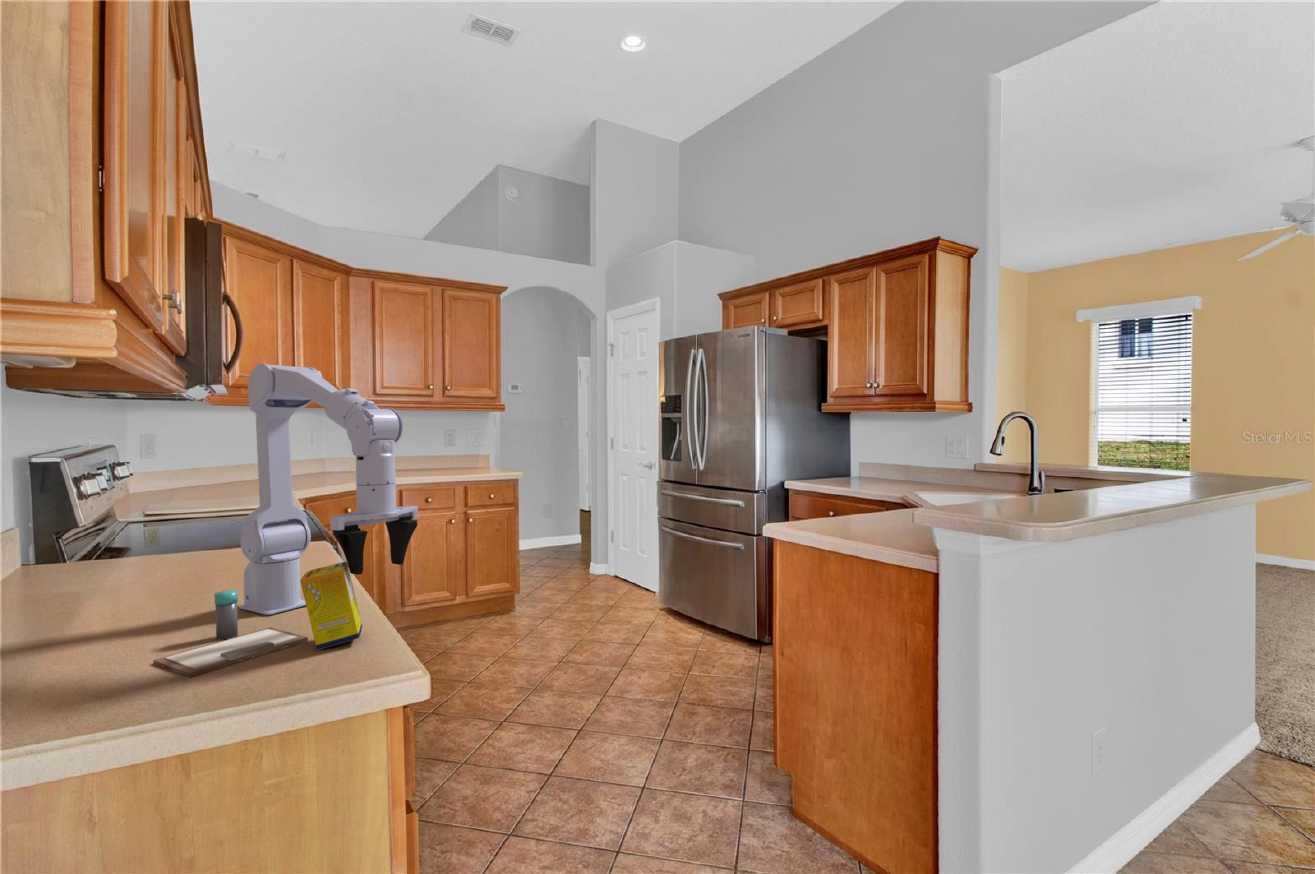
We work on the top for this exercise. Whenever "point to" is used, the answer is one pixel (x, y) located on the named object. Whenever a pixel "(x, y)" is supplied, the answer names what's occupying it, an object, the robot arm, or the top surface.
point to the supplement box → (331, 605)
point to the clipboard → (228, 651)
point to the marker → (226, 614)
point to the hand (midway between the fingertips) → (377, 568)
